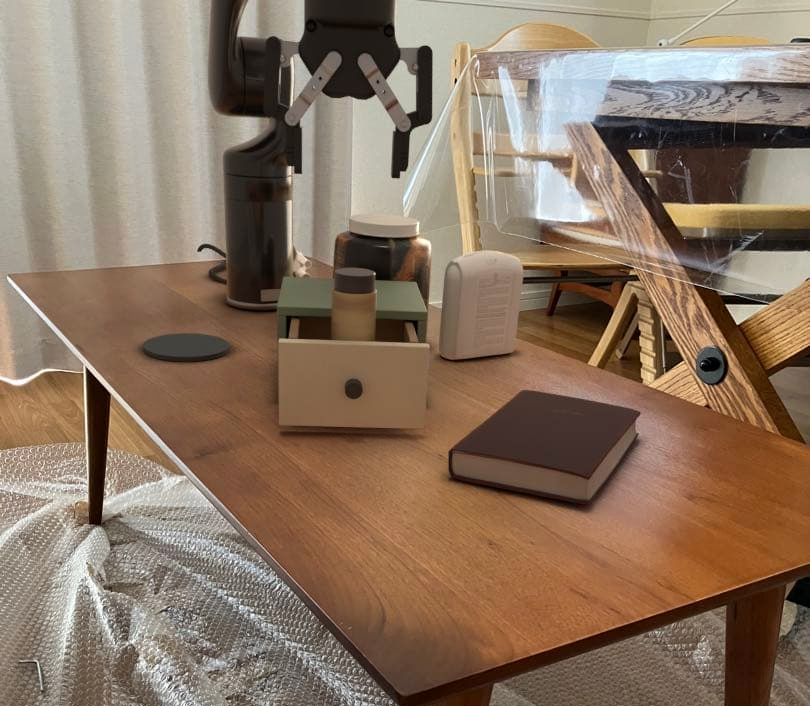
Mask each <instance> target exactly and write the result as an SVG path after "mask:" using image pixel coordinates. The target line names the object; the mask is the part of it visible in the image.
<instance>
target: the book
mask: <svg viewBox="0 0 810 706" xmlns="http://www.w3.org/2000/svg"><path fill="white" fill-rule="evenodd" d="M641 414H642V413H641V411H639V410H637V409H633V408H631V407H625V406H621V405H615V404H611V403H606V402H601V401H595V400H590V399H585V398H580V397H574V396H569V395H562V394H556V393H550V392H543V391H538V390H531V389H529V390H528V389H523V390H522V389H521V390H520V391H518V393H516V395H514V396H513V397H512V398H511V399H510V400H509V401H507V402H506V403H505V404H504V405H502V406H501V407H500V408H498V410H496V411H495V412H494V413H493V414H491V416H489V417H487V419H485V420H484V421H483V422H482V423H481V424H479V425H478V426H477V427H476V428H474V429H472V430H471V431H470V432H469V433H468V434H466V436H464V437H463V438H462V439H460V440H459V441H458V442H457V443H456V444H454V445H453V446H452V447H451V448H450V449H449V450H448V454H447V457H448V458H447V460H448V463H447V465H448V473H449V476H450V477H451V478H452V479H457V480H459V481H463V482H467V483H473V484H476V485H482V486H488V487H492V488H497V489H503V490H507V491H512V492H519V493H523V494H529V495H533V496H534V495H535V496H538V497H544V498H549V499H554V500H559V501H565V502H569V503H572V504H581V505H589V504H590V503H591V502H592V501H593V500H594V498H595V497H596V496H597V494H598V493H599V491H600V490H601V489H602V487H603V486H604V484H606V482H607V481H608V479H609V478H611V476H612V474H613V473H614V471H615V470H616V469H617V467H618V465H619V464H620V462H621V461H622V460H623V459H624V458H625V456H626V454H627V453H628V451H629V450H630V448H631V447H632V445H633V444H634V443H635V442H636V440H637V438H638V436H639V435H640V433H639V432H637V430H636V427H637V425H636V424H637V423H636V422H637V420H638V418H639V417H640V416H641Z"/></svg>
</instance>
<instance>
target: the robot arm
mask: <svg viewBox="0 0 810 706" xmlns="http://www.w3.org/2000/svg"><path fill="white" fill-rule="evenodd" d="M248 3H249V0H210V13H209V14H210V15H209V31H208V32H209V33H208V50H207V89H208V97H209V101H210V104H211V108H212V109H213V110H214V111H215V112H216V113H217V114H218V115H219V116H224V117H229V118H231V117H232V118H248V119H249V118H251V119H267V123H266V126H265V128H264V129H263V130H262V131H261V132H260V133H258V134H257V135H256V136H254V137H252V138H251V139H249V140H247V141H244V142H242V143H239V144H236V145H233V146H230V147H228V148H226V149H225V150H224V151H223V153H222V178H223V179H222V181H223V182H222V183H223V203H224V205H223V207H224V229H225V230H224V235H225V236H224V237H225V252H224V251H223V250H222V249H220V248H218V247H217V246H215V245H213V244H210V243H203V244H200V246H198V248H197V250H196V252H197V253H201V252H202V251H203V250H205V249H208V250H212V251H214V252H215V253H217V254H218V255H220V256H221V257H223V258H224V259H225V260H224V262H222V263H221V264H218V265H216V266H214V267H212V268H210V269H209V270H208V275H209V277H210V278H211V279H213V280H214V281H216V282H218V283H221V284H223V285H226V304H228V305H229V306H231V307H234V308H238V309H242V310H249V311H277V304H278V299H279V295H280V290H281V286H282V281H283V277H294V272H293V245H294V175H303V172H304V164H303V163H304V161H303V160H304V145H303V144H304V130H303V129H304V126H302V125H301V119H302V118H303V117H304V115H305V114H306V113H307V111H308V110H309V108H310V107H311V106H312V104H313V103H314V101H315V100H316V98H317V97H318V96H319V95H320V93H321V92H322V94H323V95H325V96H326V97H328V98H330V99H342V98H347V97H350V98H352V99H356V100H359V101H363V100H364V101H368V100H370V99H372V98H373V97H375V96H376V97H377V98H378V100H379V102H380V103H381V105H382V106H383V108H384V109H385V111H386V113H387V114H388V116H389V118H390V119H391V121H392V123H393V124H394V127H395V128H394V129H395V130H392V142H391V143H392V144H391V164H390V165H391V166H390V177H391V179H397V180H399V179H401V172H403V173H406V172H407V170H408V167H409V164H410V163H409V162H410V161H409V160H410V159H409V158H410V143H411V142H410V140H411V139H410V138H411V134H412V131H413V130H415V129H416V128H419V127H422V126H427V125H429V124H430V123H431V122H432V120H433V77H434V76H433V73H434V71H433V70H434V69H433V66H434V65H433V64H434V63H433V62H434V61H433V59H434V58H433V57H434V55H433V54H434V52H433V49H432V47H431V46H429V45H427V44H426V45H425V44H424V45H420V46H418V47H400V45H399V43H398V41H397V34H396V31H397V30H396V28H397V4H398V0H304V1H303V4H304V5H303V6H304V7H303V8H304V9H303V12H304V13H303V14H304V16H303V17H304V18H303V21H304V25H303V33H302V36H301V38H300V40H291V39H283V38H279V37H278V36H276V35H271V36H269V37H258V36H257V37H255V36H242V35H241V36H238V33H239V30H240V29H239V28H240V25H241V22H242V19H243V18H242V17H243V15H244V12H245V9H246V8H247V4H248ZM295 55H299V58H300V60H301V62H302V63H303V65H304V66H305V68H306V70H307V71H308V73H309V74H310V76H311V78H310V79H309V80H308V82H307V83H306V85H304V87H303V89H302V90H301V91H300V92H299V94H298V96H297V97H296V98H295V95H296V94H295V93H296V63H295V57H294V56H295ZM400 61H402V62H403V63H405V65H406V69H407V72H408V73H409V74H410V75H412V76H415V110H413V111H410V112H407V113H406V111H405V109H404V108H403V107H402V105H401V103H400V102H399V100H398V98H397V96H396V95H395V93H394V92H393V90H392V89H391V86H390V85H389V83H388V82H387V80H388V79H389V77H390V76H391V75H392V74H393V71H394V70H395V69H396V68H397V66H398V65H399V63H400ZM293 174H294V175H293ZM224 269H226V279H225V278H223V277H221V276H219V275H217V274H216V272H219V271H221V270H224Z"/></svg>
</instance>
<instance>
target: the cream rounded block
mask: <svg viewBox="0 0 810 706" xmlns="http://www.w3.org/2000/svg"><path fill="white" fill-rule="evenodd" d="M443 276H444V278H443V289H442V300H441V312H440V326H439V339H438V352H439V354H440V356H441V357H442V358H444V359H447V360H451V361H455V360H456V361H457V360H465V359H473V358H481V357H488V356H497V355H498V356H499V355H505V354H512V353H513V352H514V351H515V347H516V342H517V341H516V339H517V332H518V323H519V313H520V306H521V297H522V291H523V283H524V282H523V281H524V266H523V263H522V261H521V259H520V258H519V257H517V256H515V255H512V254H510V253H506V252H502V251H498V250H487V249H486V250H485V249H484V250H476V251H472V252H471V251H470V252H468V253H465V254H462V255H460V256H458V257H455V258H453V259H452V260H450V261H449V262H448V263H447V265H446V267H445V270H444V275H443Z"/></svg>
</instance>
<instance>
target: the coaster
mask: <svg viewBox="0 0 810 706" xmlns="http://www.w3.org/2000/svg"><path fill="white" fill-rule="evenodd" d="M142 350H143V353H144V354H145V355H147V356H148V357H150V358H153V359H157V360H161V361H162V360H163V361H168V362H181V363H182V362H183V363H185V362H186V363H188V362H189V363H191V362H192V363H193V362H204V361H209V360H215V359H218V358H221V357H224V356H226V355H228V353H229V352H230V350H231V345H230V343H229V342H228V340H226V339H225V338H222V337H220V336H217V335H213V334H212V335H211V334H204V333H192V332H189V333H188V332H187V333H186V332H184V333H183V332H181V333H170V334H163V335H158V336H157V335H156V336H155V337H154V336H153V337H150V338H148V339H146V340H145V341H144V342H143V344H142Z"/></svg>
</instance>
